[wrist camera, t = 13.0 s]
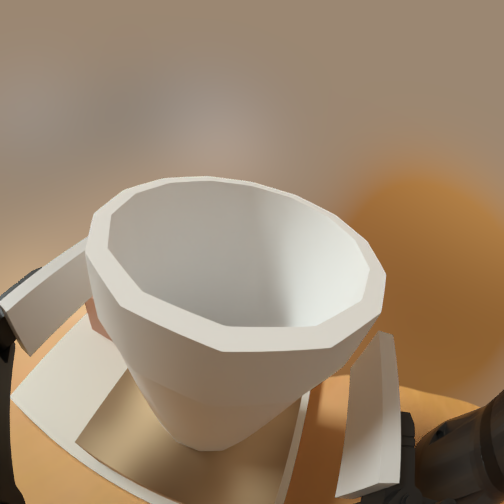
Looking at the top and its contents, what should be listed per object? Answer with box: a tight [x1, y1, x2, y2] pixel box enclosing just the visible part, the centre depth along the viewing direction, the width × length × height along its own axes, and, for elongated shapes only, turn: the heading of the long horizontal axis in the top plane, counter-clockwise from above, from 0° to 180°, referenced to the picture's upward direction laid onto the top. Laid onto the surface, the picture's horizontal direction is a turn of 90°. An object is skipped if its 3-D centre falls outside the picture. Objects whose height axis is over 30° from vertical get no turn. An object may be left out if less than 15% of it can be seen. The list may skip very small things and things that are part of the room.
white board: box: [10, 313, 310, 504], centre depth 21 cm, size 24×20×2 cm
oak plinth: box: [75, 368, 302, 504], centre depth 16 cm, size 12×12×5 cm
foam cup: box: [85, 176, 386, 451], centre depth 12 cm, size 10×9×13 cm
